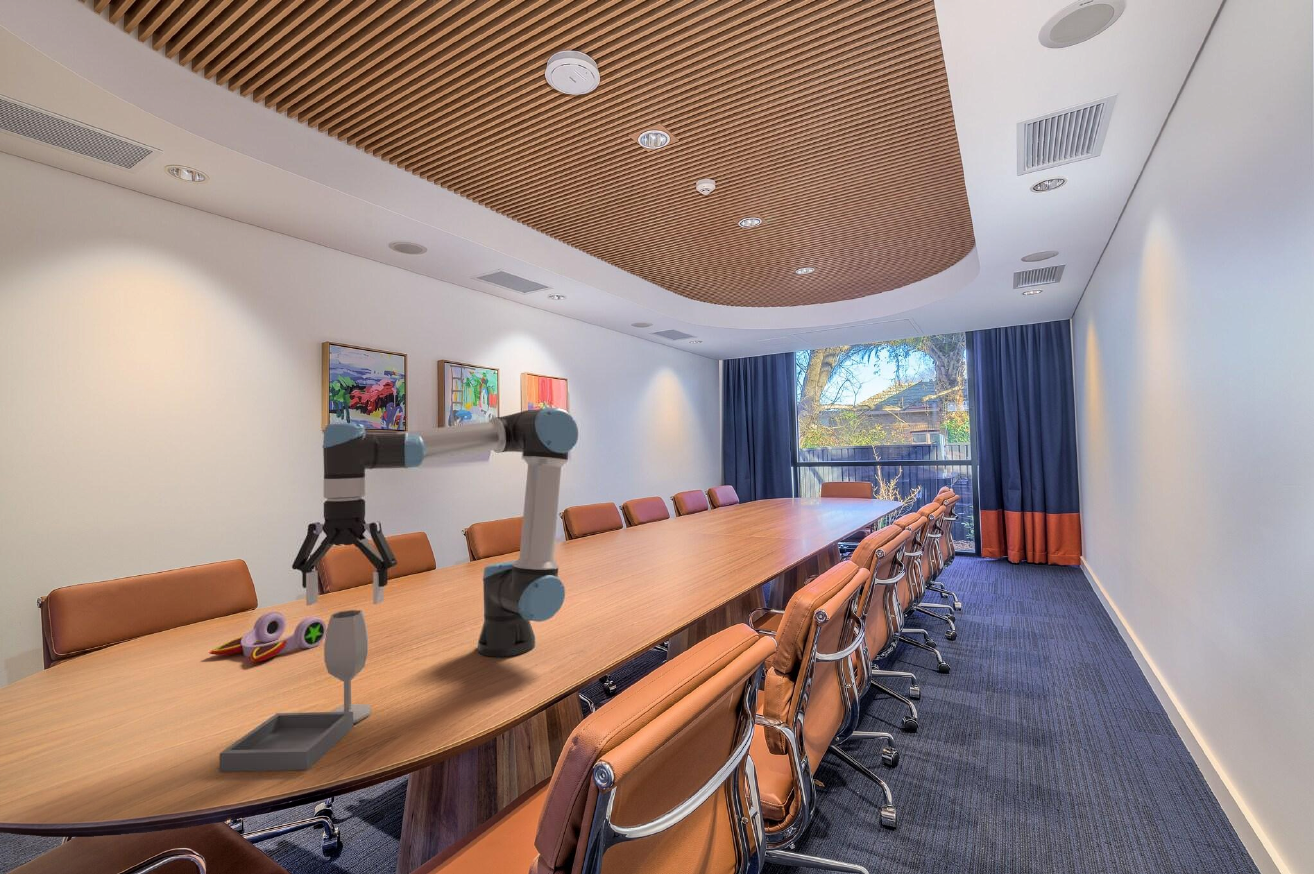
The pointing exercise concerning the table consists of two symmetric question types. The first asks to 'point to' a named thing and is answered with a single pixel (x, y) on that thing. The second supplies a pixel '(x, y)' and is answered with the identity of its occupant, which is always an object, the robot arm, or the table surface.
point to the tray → (287, 742)
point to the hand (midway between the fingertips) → (345, 603)
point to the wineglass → (347, 655)
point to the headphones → (274, 637)
